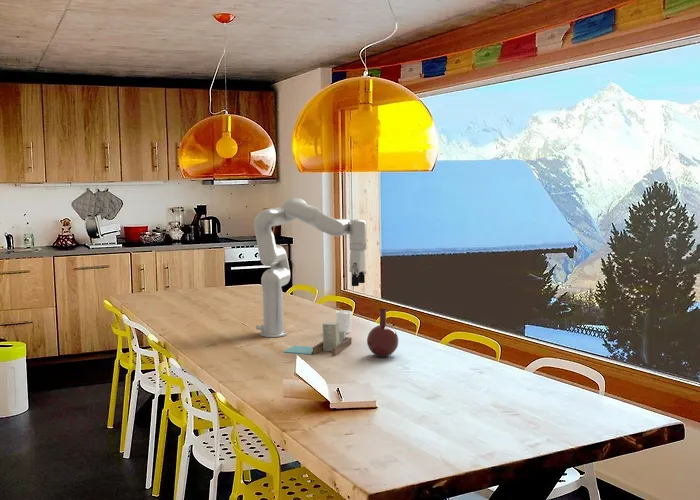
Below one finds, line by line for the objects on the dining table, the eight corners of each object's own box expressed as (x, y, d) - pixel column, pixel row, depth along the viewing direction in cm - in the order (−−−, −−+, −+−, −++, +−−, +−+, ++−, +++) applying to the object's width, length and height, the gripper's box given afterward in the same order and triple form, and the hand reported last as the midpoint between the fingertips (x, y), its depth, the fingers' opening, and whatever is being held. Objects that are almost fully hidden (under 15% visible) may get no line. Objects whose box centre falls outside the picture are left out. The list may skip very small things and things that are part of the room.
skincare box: (339, 349, 327) (339, 322, 326) (336, 352, 323) (336, 324, 322) (326, 348, 330) (326, 321, 328) (322, 350, 325) (322, 323, 324)
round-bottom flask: (404, 358, 314) (404, 310, 311) (376, 361, 308) (376, 313, 306) (388, 351, 325) (388, 305, 323) (361, 354, 319) (361, 308, 317)
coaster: (283, 352, 322) (283, 351, 322) (294, 346, 334) (294, 345, 334) (309, 354, 319) (309, 353, 319) (319, 348, 330) (319, 347, 330)
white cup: (350, 334, 359) (350, 313, 358) (334, 333, 360) (334, 312, 359) (353, 330, 366) (353, 310, 365) (337, 330, 368) (337, 310, 367)
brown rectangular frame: (312, 354, 319) (312, 347, 319) (330, 342, 341) (330, 336, 341) (335, 356, 316) (335, 349, 316) (351, 344, 338) (351, 337, 338)
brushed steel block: (327, 346, 332) (327, 332, 331) (332, 343, 338) (332, 330, 337) (341, 347, 330) (341, 333, 330) (345, 344, 336) (345, 331, 335)
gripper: (355, 244, 348) (355, 281, 350) (344, 248, 331) (344, 287, 333) (371, 245, 346) (371, 282, 347) (360, 248, 329) (361, 287, 331)
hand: (358, 284), depth 340 cm, fingers open, 9 cm apart
